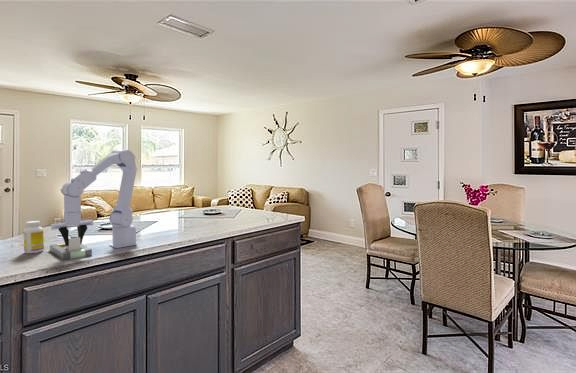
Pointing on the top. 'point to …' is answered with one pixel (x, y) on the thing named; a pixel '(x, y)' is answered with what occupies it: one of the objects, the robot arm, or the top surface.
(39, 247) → the supplement bottle
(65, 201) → the robot arm
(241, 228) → the top surface
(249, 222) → the top surface
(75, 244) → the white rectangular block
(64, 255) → the panel
